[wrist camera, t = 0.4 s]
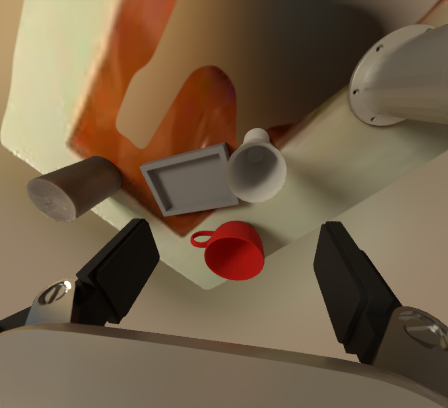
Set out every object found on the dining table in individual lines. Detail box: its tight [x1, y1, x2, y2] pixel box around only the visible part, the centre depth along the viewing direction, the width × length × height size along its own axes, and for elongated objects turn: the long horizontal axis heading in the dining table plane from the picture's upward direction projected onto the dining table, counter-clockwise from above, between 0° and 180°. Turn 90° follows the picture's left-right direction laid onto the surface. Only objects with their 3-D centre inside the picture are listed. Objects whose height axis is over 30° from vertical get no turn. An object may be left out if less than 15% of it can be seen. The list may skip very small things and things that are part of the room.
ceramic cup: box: [191, 221, 264, 281], centre depth 44 cm, size 13×17×10 cm
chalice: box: [226, 128, 287, 203], centre depth 29 cm, size 7×7×18 cm
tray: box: [140, 142, 240, 217], centre depth 41 cm, size 19×13×3 cm
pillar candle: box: [26, 156, 122, 223], centre depth 40 cm, size 10×10×15 cm
